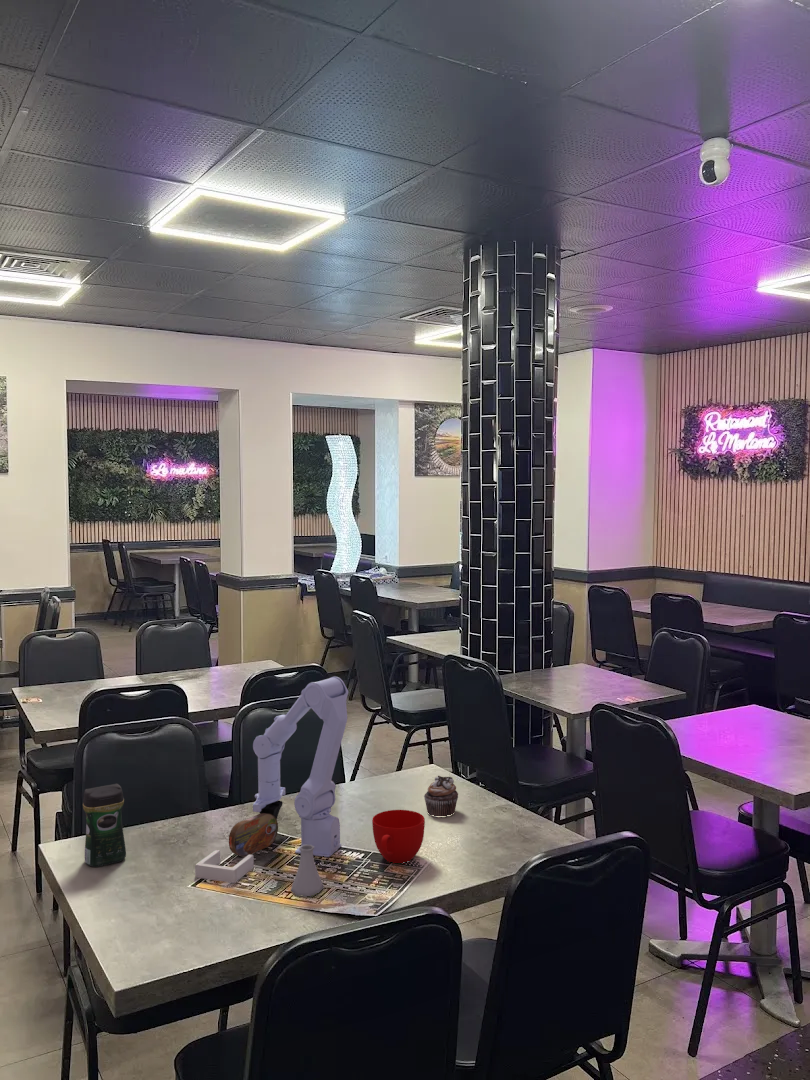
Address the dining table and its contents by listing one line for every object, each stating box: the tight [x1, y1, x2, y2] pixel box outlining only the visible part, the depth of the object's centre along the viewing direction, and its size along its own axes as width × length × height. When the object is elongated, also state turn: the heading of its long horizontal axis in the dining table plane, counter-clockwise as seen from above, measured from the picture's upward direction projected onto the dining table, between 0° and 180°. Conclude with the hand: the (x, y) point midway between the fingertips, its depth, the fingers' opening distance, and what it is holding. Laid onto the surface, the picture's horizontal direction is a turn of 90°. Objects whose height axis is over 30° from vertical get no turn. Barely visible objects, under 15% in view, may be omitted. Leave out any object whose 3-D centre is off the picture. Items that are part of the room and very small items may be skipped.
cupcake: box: [423, 775, 459, 816], centre depth 244 cm, size 10×10×10 cm
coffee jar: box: [82, 783, 127, 868], centre depth 213 cm, size 10×8×19 cm
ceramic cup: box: [371, 809, 426, 864], centre depth 210 cm, size 13×17×10 cm
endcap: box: [194, 849, 255, 884], centre depth 205 cm, size 10×9×3 cm
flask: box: [290, 844, 325, 897], centre depth 195 cm, size 7×7×10 cm
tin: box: [228, 813, 279, 858], centre depth 219 cm, size 15×3×8 cm, turn 143°
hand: (270, 830), depth 227 cm, fingers closed
